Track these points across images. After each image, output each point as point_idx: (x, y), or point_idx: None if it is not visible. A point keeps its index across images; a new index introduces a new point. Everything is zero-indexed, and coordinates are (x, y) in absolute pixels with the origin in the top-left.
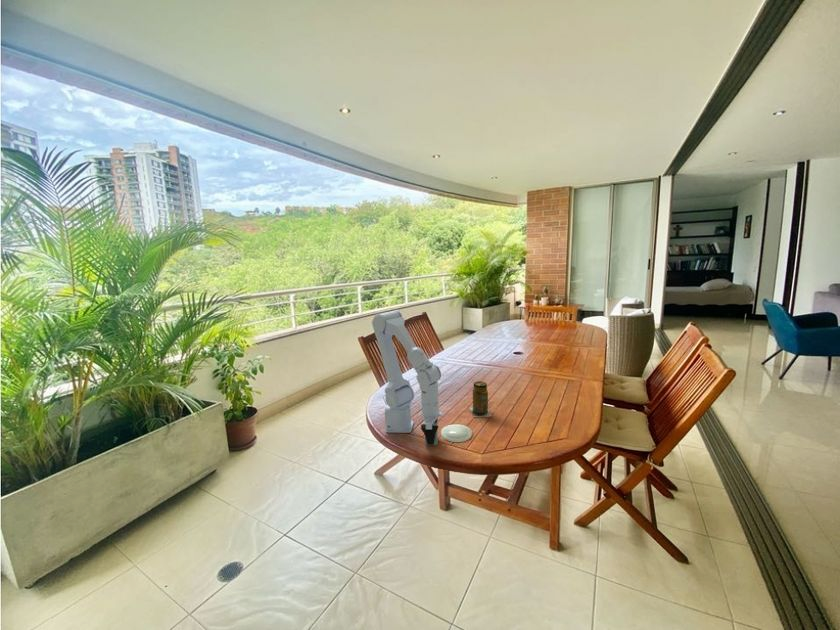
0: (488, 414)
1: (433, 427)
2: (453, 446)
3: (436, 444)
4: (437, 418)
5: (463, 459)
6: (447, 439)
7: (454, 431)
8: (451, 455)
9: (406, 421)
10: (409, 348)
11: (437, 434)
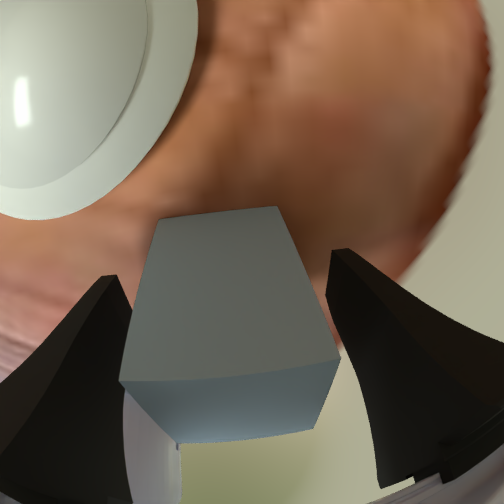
0: None
1: (496, 415)
2: (291, 37)
3: (280, 214)
4: (42, 408)
5: (457, 4)
6: (170, 114)
7: (20, 85)
8: (427, 75)
9: (141, 446)
10: None
11: (174, 251)
